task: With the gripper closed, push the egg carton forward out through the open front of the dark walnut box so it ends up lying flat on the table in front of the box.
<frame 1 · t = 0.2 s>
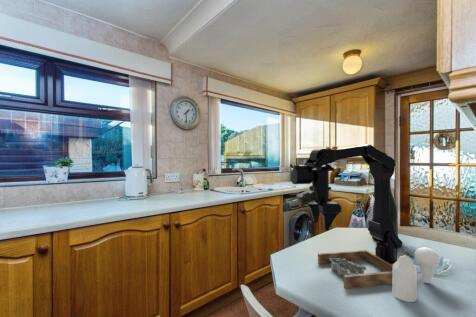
hand: (320, 226, 83), 14 cm above the table, tool pointing down, fingers open, 9 cm apart
roll: (404, 297, 65), on the table
beer bottle: (384, 241, 108), on the table
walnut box: (357, 272, 79), on the table
egg carton: (346, 274, 78), on the table
lightbulb: (426, 283, 72), on the table
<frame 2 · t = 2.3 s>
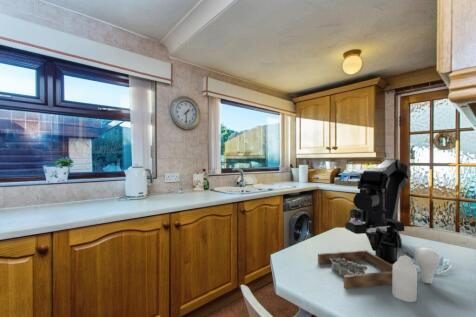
hand: (374, 250, 80), 7 cm above the table, tool pointing down, fingers closed
nothing on the table moved.
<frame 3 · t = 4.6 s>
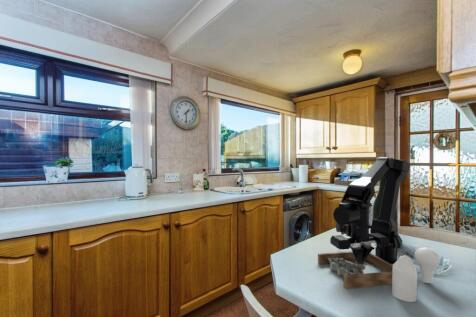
hand: (359, 265, 79), 2 cm above the table, tool pointing down, fingers closed
nothing on the table moved.
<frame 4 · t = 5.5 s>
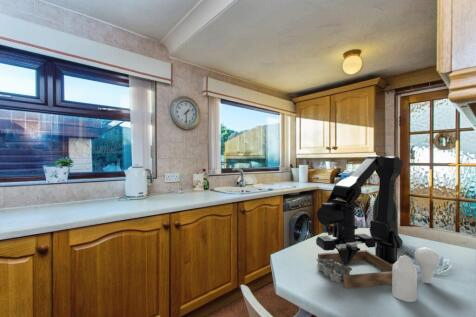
hand: (345, 266, 78), 2 cm above the table, tool pointing down, fingers closed
egg carton: (332, 275, 78), on the table, touching gripper
everything else where it was.
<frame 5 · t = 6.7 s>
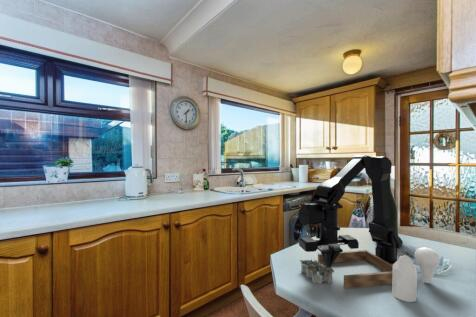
hand: (328, 268, 77), 2 cm above the table, tool pointing down, fingers closed
egg carton: (315, 276, 77), on the table, touching gripper
everything else where it was.
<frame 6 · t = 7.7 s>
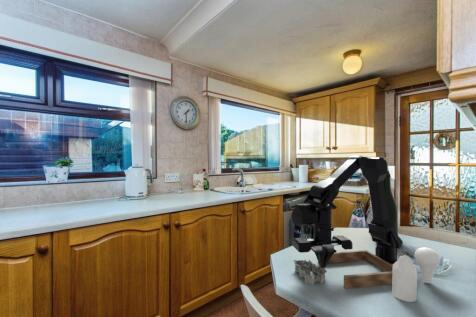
hand: (322, 268, 77), 2 cm above the table, tool pointing down, fingers closed
egg carton: (308, 276, 77), on the table
everything else where it was.
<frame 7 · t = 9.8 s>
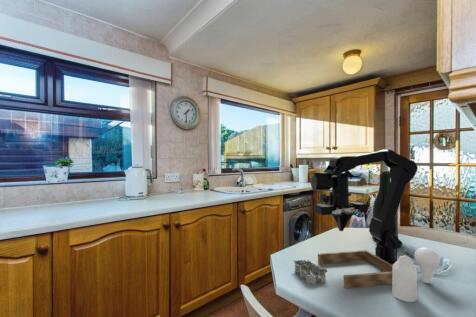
hand: (341, 230, 87), 12 cm above the table, tool pointing down, fingers closed
nothing on the table moved.
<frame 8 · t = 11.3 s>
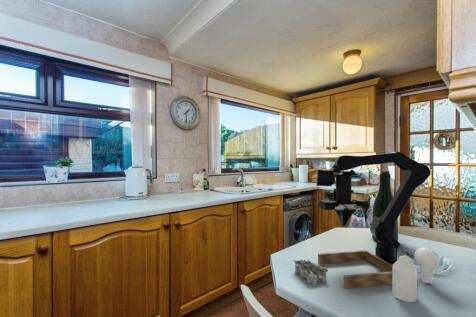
hand: (343, 225, 92), 12 cm above the table, tool pointing down, fingers closed
nothing on the table moved.
at the end: egg carton inside the target area (4.0 cm from its centre), on the table; egg carton touching table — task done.
